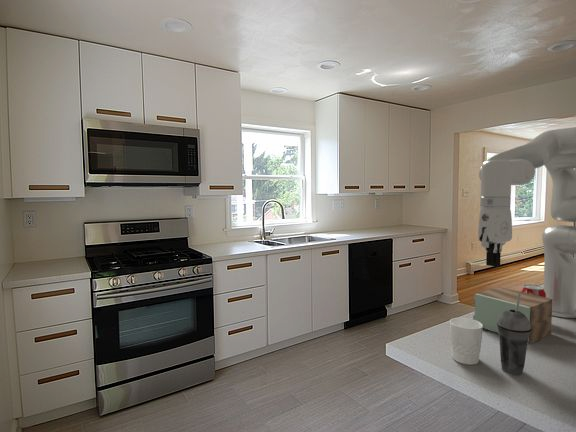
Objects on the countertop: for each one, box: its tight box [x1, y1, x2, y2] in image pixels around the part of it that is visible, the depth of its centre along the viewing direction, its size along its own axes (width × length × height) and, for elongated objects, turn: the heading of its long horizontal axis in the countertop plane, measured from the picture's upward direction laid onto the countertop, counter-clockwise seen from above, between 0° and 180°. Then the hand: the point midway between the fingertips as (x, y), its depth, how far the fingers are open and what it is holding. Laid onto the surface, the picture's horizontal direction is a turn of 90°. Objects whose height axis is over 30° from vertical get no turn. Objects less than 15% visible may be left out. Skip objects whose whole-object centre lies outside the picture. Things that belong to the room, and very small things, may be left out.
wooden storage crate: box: [477, 286, 553, 345], centre depth 113 cm, size 13×16×11 cm
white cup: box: [449, 317, 484, 366], centre depth 95 cm, size 8×8×10 cm
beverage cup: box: [497, 293, 531, 377], centre depth 88 cm, size 7×7×20 cm
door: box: [472, 293, 531, 342], centre depth 109 cm, size 2×16×10 cm, turn 32°
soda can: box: [520, 284, 546, 298], centre depth 119 cm, size 7×7×12 cm
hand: (493, 265), depth 103 cm, fingers closed
